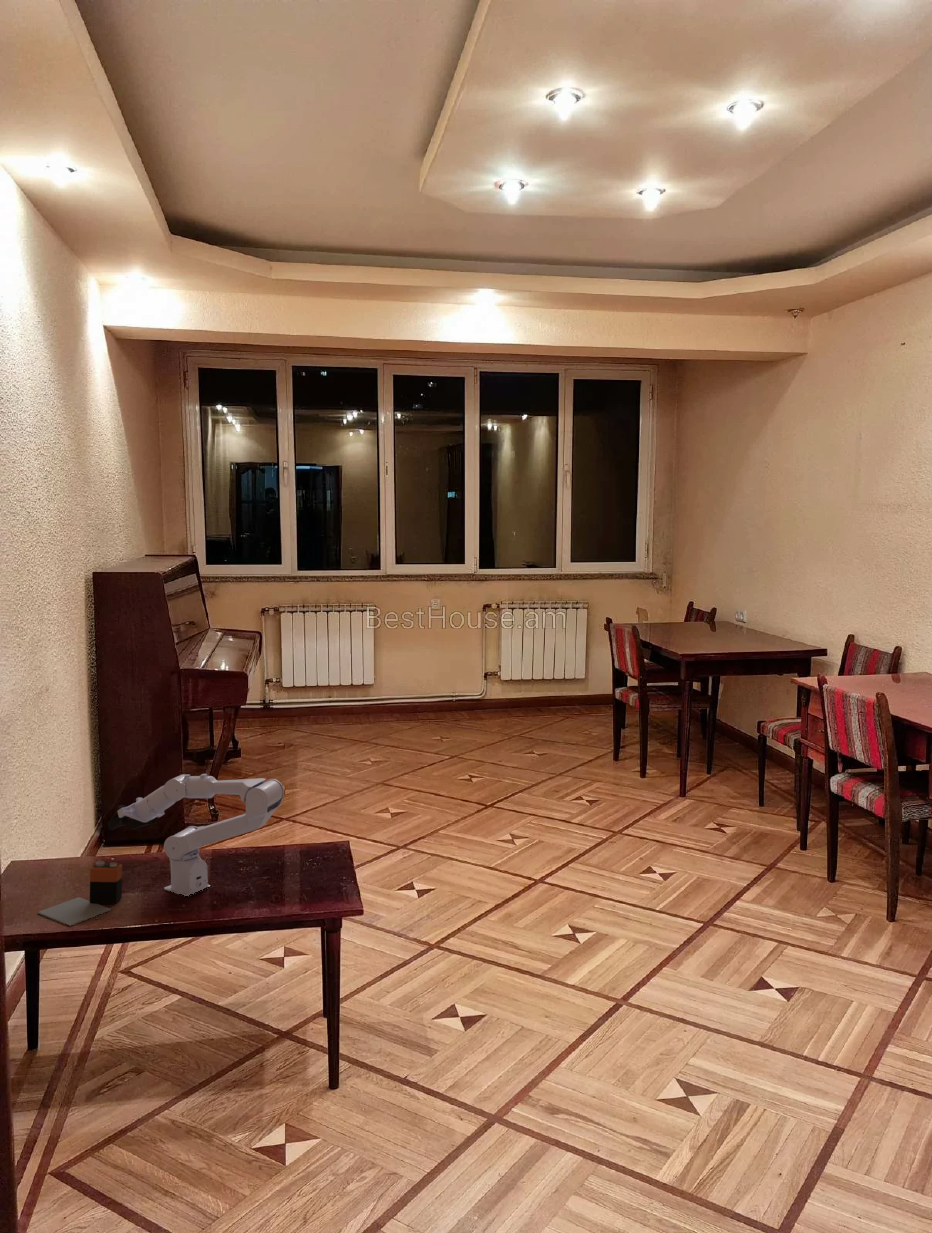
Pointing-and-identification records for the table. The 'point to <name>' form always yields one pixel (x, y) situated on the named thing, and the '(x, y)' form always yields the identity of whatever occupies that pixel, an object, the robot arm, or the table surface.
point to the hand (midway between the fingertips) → (120, 826)
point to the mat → (74, 911)
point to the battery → (106, 883)
